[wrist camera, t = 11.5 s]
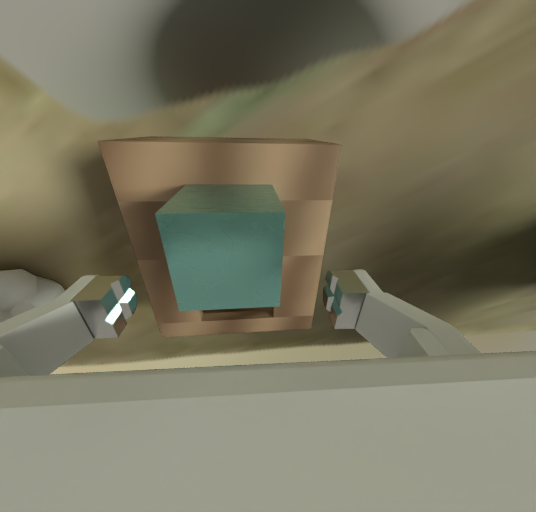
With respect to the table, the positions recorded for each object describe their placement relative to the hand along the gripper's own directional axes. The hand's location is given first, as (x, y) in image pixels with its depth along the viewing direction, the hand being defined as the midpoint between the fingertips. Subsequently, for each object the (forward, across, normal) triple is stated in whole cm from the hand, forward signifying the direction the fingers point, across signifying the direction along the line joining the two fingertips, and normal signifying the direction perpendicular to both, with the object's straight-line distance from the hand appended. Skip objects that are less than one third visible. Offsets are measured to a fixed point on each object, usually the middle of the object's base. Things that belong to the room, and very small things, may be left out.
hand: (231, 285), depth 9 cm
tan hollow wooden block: (+15, +1, +3) cm, 15 cm away
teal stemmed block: (+13, +1, 0) cm, 13 cm away
